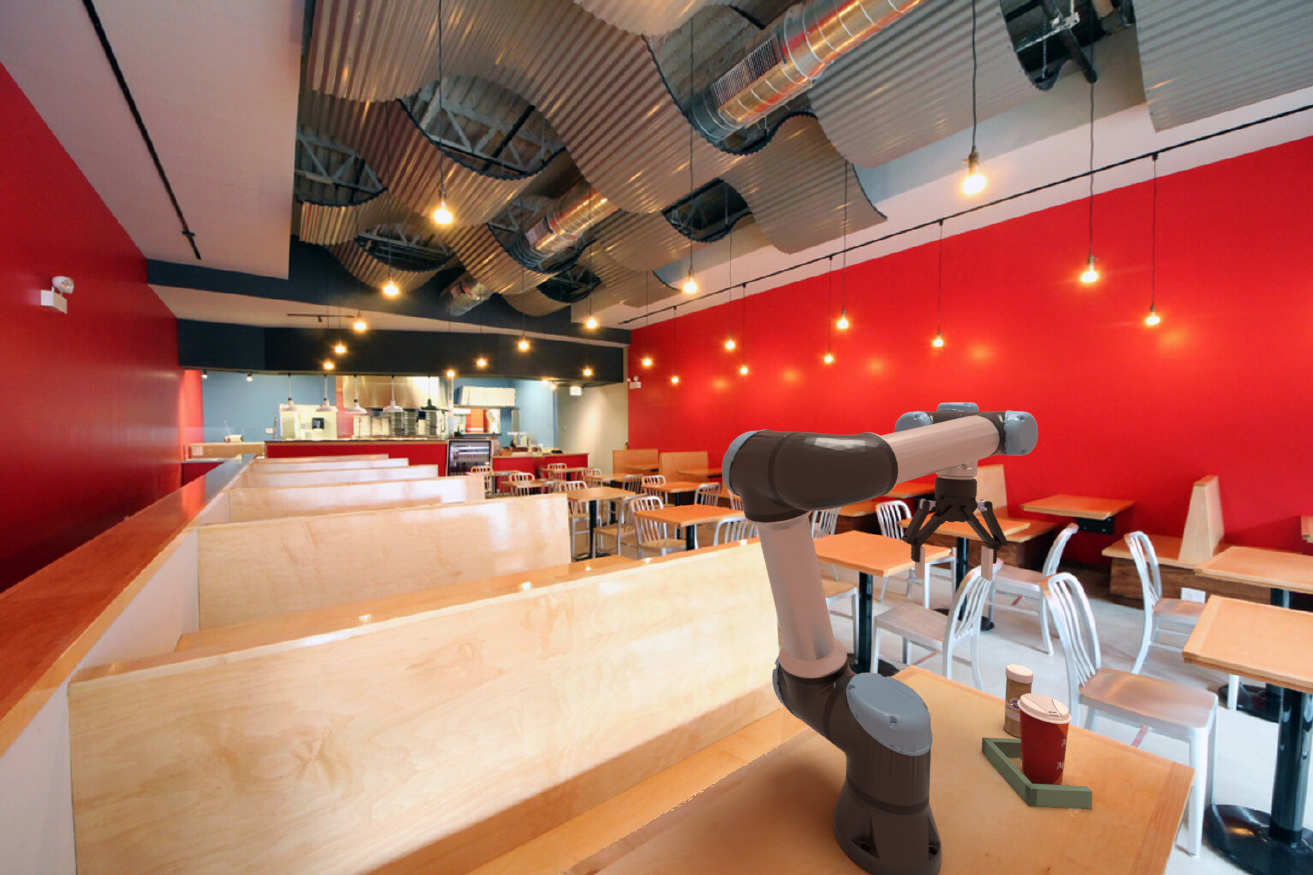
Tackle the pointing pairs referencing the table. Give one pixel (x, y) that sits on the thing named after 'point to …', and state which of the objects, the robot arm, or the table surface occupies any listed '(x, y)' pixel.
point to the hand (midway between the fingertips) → (952, 578)
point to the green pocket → (1031, 793)
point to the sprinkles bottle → (1015, 695)
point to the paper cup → (1043, 738)
